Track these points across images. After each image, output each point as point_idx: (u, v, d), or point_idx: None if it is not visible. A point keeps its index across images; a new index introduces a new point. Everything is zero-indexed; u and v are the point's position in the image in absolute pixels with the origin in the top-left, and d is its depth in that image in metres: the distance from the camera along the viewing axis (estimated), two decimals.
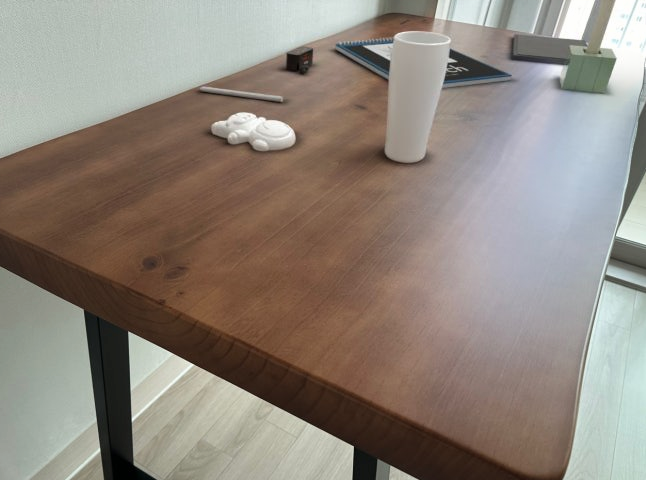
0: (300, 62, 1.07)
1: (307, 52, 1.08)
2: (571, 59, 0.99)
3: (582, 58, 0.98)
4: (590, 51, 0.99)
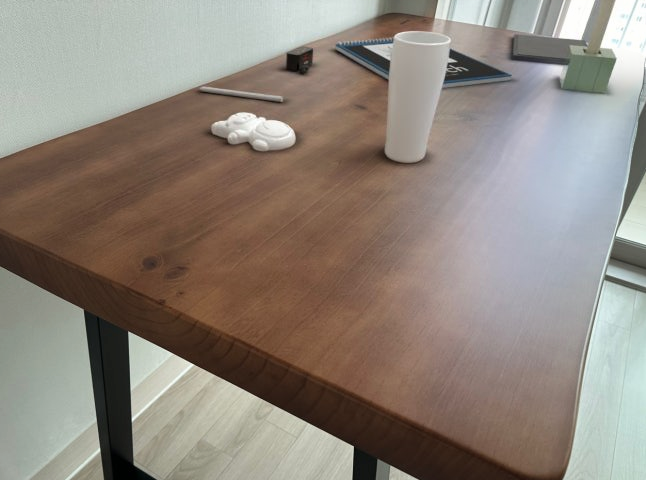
0: (300, 62, 1.07)
1: (307, 52, 1.08)
2: (571, 59, 0.99)
3: (582, 58, 0.98)
4: (590, 51, 0.99)
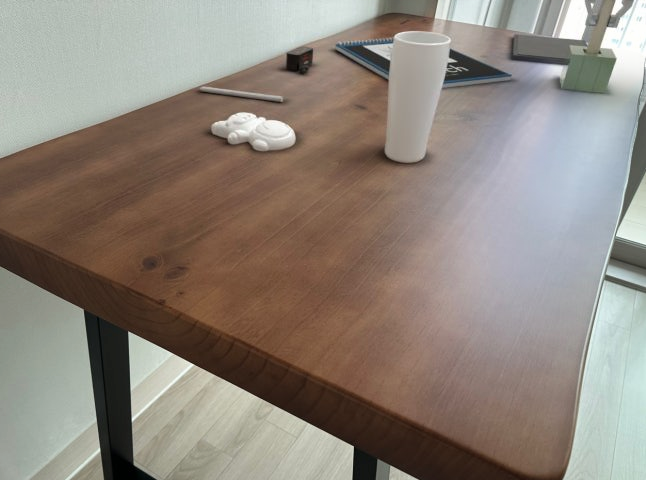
0: (300, 62, 1.07)
1: (307, 52, 1.08)
2: (571, 59, 0.99)
3: (582, 58, 0.98)
4: (590, 51, 0.99)
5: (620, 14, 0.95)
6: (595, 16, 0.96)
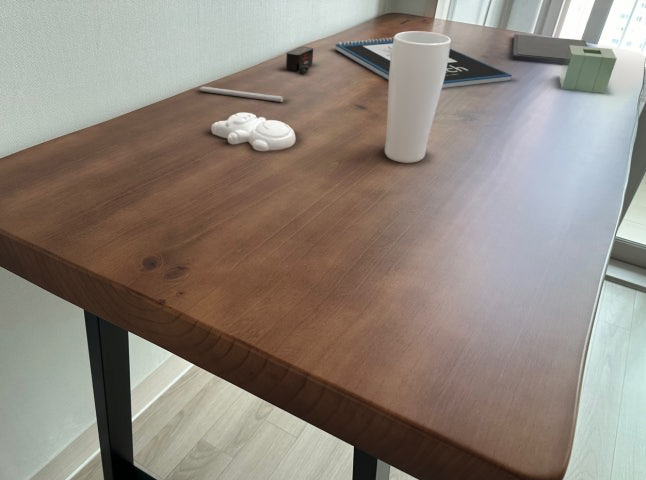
0: (300, 62, 1.07)
1: (307, 52, 1.08)
2: (571, 59, 0.99)
3: (582, 58, 0.98)
4: None
5: None
6: None
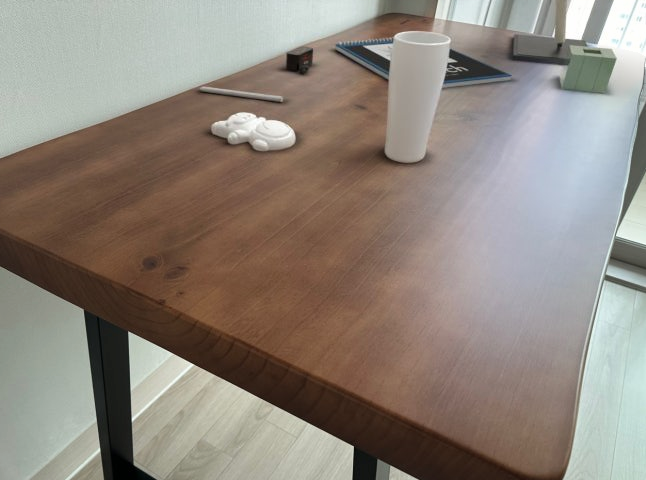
0: (300, 62, 1.07)
1: (307, 52, 1.08)
2: (571, 59, 0.99)
3: (582, 58, 0.98)
4: (558, 17, 1.18)
5: None
6: None
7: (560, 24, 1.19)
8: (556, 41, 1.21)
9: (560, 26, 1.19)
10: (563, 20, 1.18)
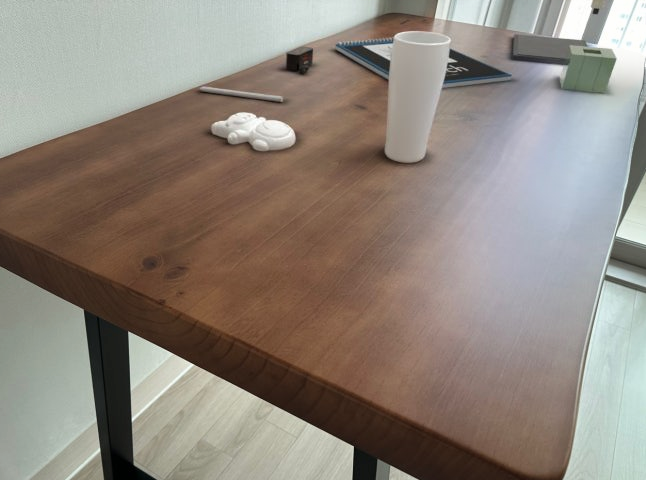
0: (300, 62, 1.07)
1: (307, 52, 1.08)
2: (571, 59, 0.99)
3: (582, 58, 0.98)
4: None
5: None
6: None
7: None
8: (593, 5, 0.98)
9: None
10: None
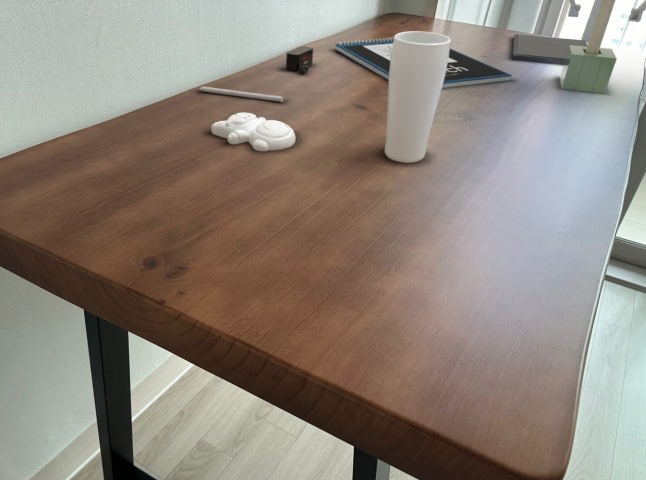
0: (300, 62, 1.07)
1: (307, 52, 1.08)
2: (571, 59, 0.99)
3: (582, 58, 0.98)
4: (590, 51, 0.99)
5: (643, 8, 0.94)
6: (577, 7, 0.96)
7: None
8: None
9: None
10: None
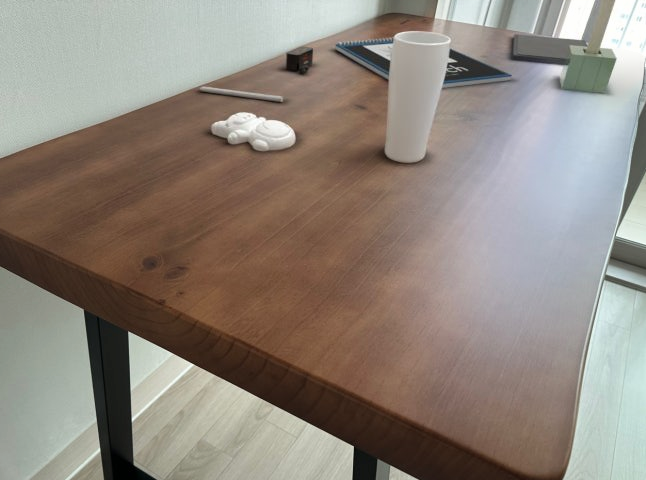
0: (300, 62, 1.07)
1: (307, 52, 1.08)
2: (571, 59, 0.99)
3: (582, 58, 0.98)
4: (590, 51, 0.99)
5: None
6: None
7: None
8: None
9: None
10: None
